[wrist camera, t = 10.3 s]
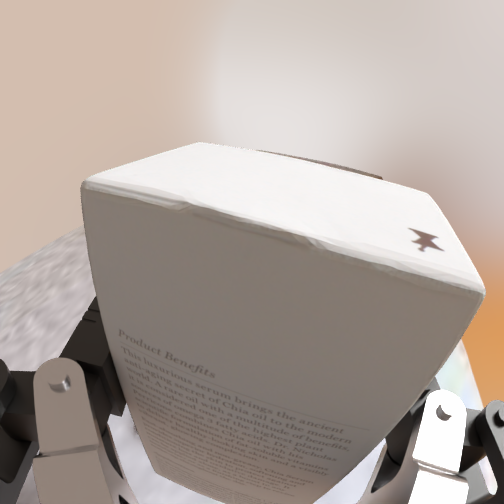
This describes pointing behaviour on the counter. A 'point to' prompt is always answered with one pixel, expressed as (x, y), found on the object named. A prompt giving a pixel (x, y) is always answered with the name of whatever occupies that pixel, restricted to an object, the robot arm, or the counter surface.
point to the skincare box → (270, 313)
